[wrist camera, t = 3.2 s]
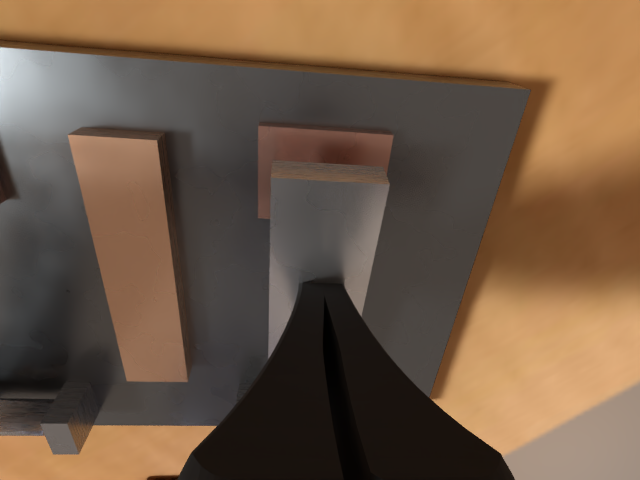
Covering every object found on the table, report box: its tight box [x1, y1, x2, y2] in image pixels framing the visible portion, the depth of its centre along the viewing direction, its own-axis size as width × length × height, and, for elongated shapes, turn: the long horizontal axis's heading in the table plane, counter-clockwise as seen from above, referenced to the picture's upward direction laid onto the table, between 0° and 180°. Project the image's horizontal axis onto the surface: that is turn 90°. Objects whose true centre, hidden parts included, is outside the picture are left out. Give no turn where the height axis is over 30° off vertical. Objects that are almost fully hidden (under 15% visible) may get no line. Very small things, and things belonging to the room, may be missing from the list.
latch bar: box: [268, 160, 390, 359], centre depth 14 cm, size 13×3×1 cm, turn 175°
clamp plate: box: [0, 40, 531, 454], centre depth 15 cm, size 16×24×4 cm, turn 85°
